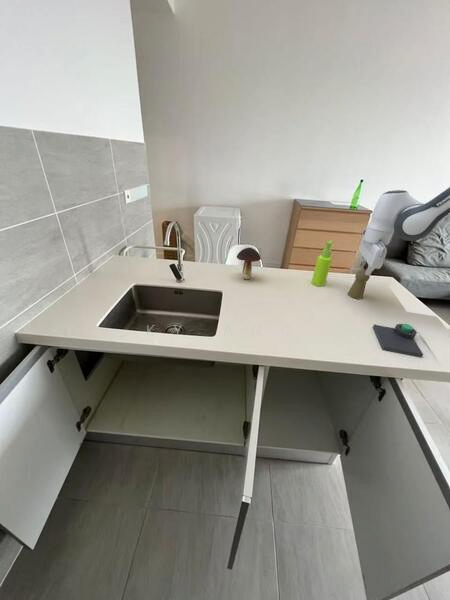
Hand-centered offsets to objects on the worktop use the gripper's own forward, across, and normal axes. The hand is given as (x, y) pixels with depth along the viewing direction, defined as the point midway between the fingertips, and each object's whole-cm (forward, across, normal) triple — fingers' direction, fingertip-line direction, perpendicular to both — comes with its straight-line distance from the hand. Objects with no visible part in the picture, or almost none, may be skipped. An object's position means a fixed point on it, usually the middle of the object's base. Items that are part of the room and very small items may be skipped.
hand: (364, 269), depth 99 cm
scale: (+12, -29, -7) cm, 32 cm away
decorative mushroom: (+13, 0, +48) cm, 49 cm away
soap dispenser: (+12, +7, +15) cm, 20 cm away
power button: (+9, -25, -11) cm, 29 cm away
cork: (+12, 0, 0) cm, 12 cm away
